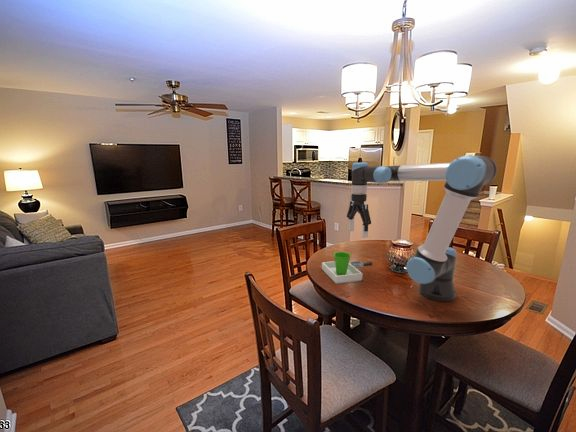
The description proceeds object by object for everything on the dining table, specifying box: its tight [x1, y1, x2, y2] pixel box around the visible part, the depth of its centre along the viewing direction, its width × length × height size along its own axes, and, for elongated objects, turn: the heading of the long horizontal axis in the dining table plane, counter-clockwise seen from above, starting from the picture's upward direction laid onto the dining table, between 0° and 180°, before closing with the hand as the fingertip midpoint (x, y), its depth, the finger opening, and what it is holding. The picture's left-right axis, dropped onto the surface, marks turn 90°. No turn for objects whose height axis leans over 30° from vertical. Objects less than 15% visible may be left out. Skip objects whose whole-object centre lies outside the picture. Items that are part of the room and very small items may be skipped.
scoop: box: [349, 260, 373, 269], centre depth 166 cm, size 12×5×2 cm, turn 105°
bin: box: [321, 260, 364, 285], centre depth 153 cm, size 20×15×4 cm
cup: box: [333, 251, 352, 275], centre depth 152 cm, size 9×9×11 cm
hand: (357, 234), depth 147 cm, fingers open, 13 cm apart
